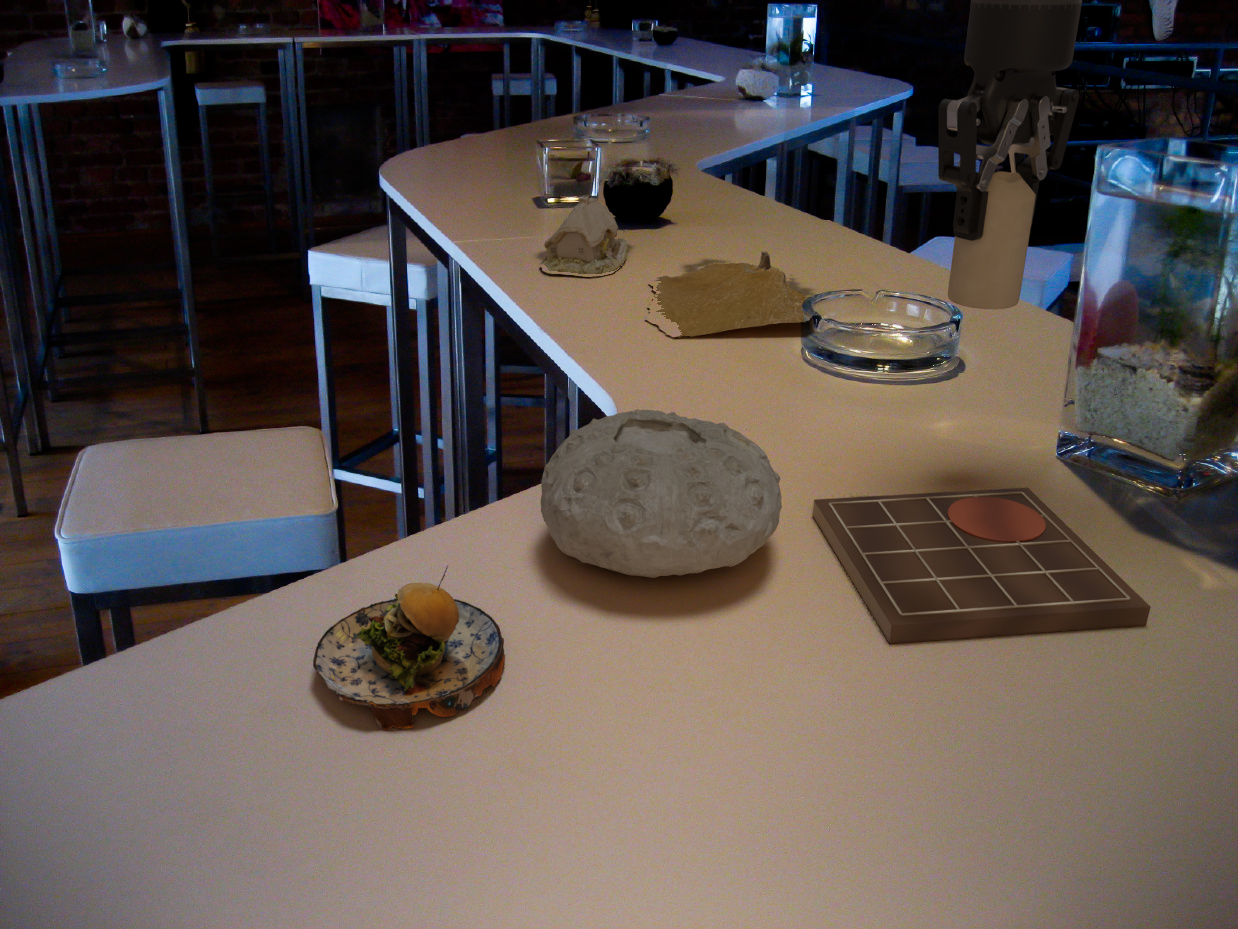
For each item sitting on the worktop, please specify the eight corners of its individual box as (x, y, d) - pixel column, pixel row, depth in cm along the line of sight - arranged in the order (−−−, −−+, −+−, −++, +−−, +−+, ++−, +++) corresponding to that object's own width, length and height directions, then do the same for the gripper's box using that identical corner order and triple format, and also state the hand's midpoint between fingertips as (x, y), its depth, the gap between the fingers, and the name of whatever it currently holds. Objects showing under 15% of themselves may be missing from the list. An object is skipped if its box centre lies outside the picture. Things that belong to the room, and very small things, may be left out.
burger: (365, 607, 75) (354, 512, 72) (528, 628, 73) (524, 530, 70) (279, 715, 65) (262, 609, 61) (467, 744, 62) (459, 635, 59)
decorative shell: (705, 480, 93) (709, 370, 89) (826, 579, 79) (838, 453, 74) (509, 523, 86) (503, 406, 82) (601, 640, 72) (600, 505, 67)
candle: (992, 314, 84) (1011, 183, 79) (933, 298, 88) (948, 172, 83) (1032, 301, 87) (1053, 173, 82) (974, 286, 91) (990, 164, 86)
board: (1024, 503, 89) (1028, 485, 89) (1146, 625, 73) (1151, 605, 73) (812, 515, 87) (813, 497, 87) (889, 644, 71) (892, 623, 71)
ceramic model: (600, 282, 148) (600, 209, 144) (528, 273, 152) (525, 201, 148) (639, 258, 160) (640, 189, 156) (571, 250, 164) (570, 183, 160)
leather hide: (676, 274, 156) (673, 241, 153) (859, 282, 144) (859, 246, 142) (586, 358, 134) (581, 321, 131) (794, 375, 122) (791, 334, 120)
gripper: (1008, 2, 71) (973, 257, 78) (1131, -4, 79) (1089, 228, 86) (917, -2, 76) (893, 237, 84) (1041, -7, 84) (1008, 212, 91)
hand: (992, 231), depth 85 cm, fingers closed on candle, 5 cm apart
